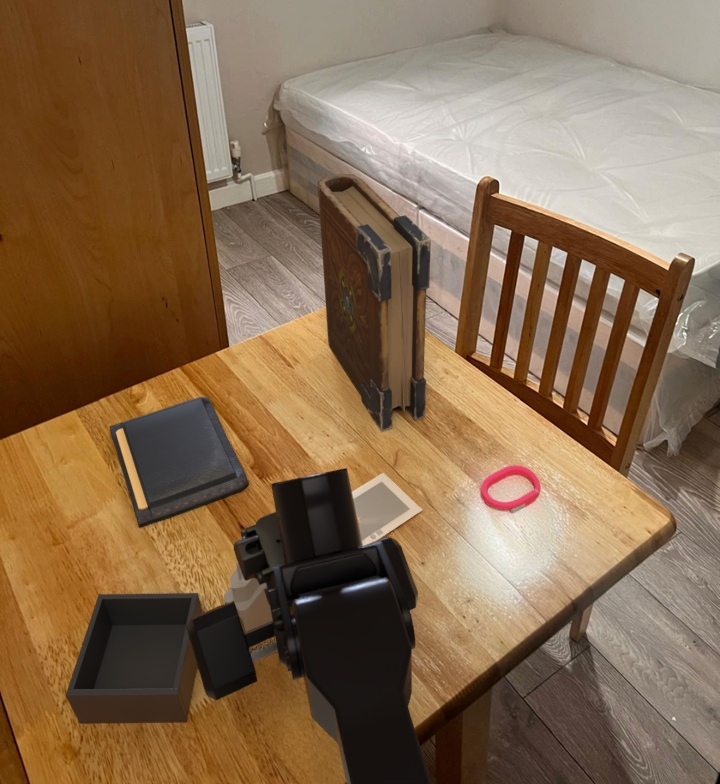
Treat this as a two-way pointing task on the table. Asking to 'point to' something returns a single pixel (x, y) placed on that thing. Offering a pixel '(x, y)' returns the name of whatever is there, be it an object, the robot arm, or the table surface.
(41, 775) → the table surface
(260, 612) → the power adapter
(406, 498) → the white grey flat rectangle
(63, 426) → the table surface
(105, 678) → the open storage box
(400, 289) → the decorative book
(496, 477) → the fitness band
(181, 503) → the wallet
